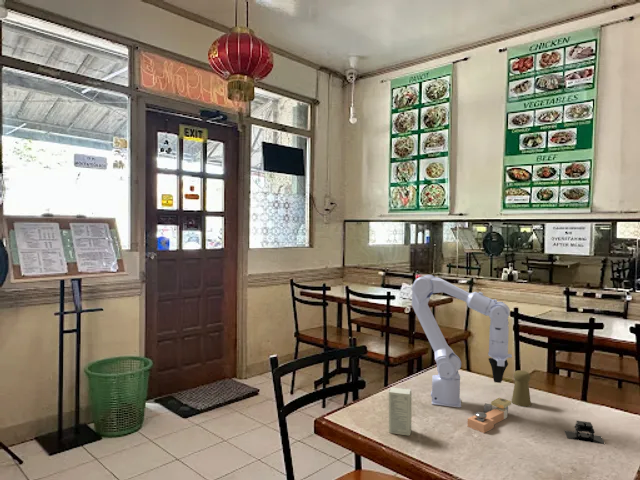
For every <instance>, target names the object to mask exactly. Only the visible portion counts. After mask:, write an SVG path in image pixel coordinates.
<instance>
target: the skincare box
mask: <svg viewBox="0 0 640 480" xmlns="http://www.w3.org/2000/svg"><path fill="white" fill-rule="evenodd" d="M412 410H413V409H412V388H404V387H395V386H391V387H390V388H389V390H388V433H390V434H397V435H402V436H411V433H412Z"/></svg>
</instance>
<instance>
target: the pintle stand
mask: <svg viewBox="0 0 640 480" xmlns="http://www.w3.org/2000/svg"><path fill="white" fill-rule="evenodd" d="M510 405H512V400H508V399H505V398H502V397H498V398H496V399H494V400H492V401H491V402H490V403H486V402H485V403H484V404H483V411H482V412H481V411H476V412H475V413H474V415H475V416H476V417H477V420H478V421H480V422H484V418H486V417H487V414H485V413H487V412H489V411H491V410H493V409H492V408H493V407H495V408H497V407H499V408H502V409H506V410H507V415H508V414H509V407H510ZM492 406H493V407H492Z"/></svg>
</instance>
